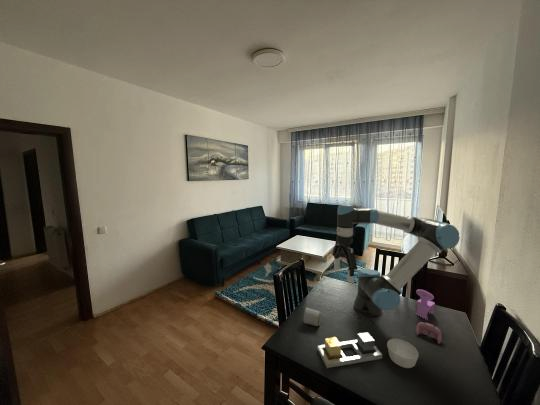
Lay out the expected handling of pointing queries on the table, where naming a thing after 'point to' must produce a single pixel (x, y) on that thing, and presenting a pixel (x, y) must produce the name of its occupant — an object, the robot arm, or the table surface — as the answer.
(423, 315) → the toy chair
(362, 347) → the grey rectangular block
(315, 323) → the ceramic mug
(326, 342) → the yellow rectangular block
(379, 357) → the white flat slotted board
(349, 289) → the table surface
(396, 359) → the ramekin
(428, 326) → the video game controller
